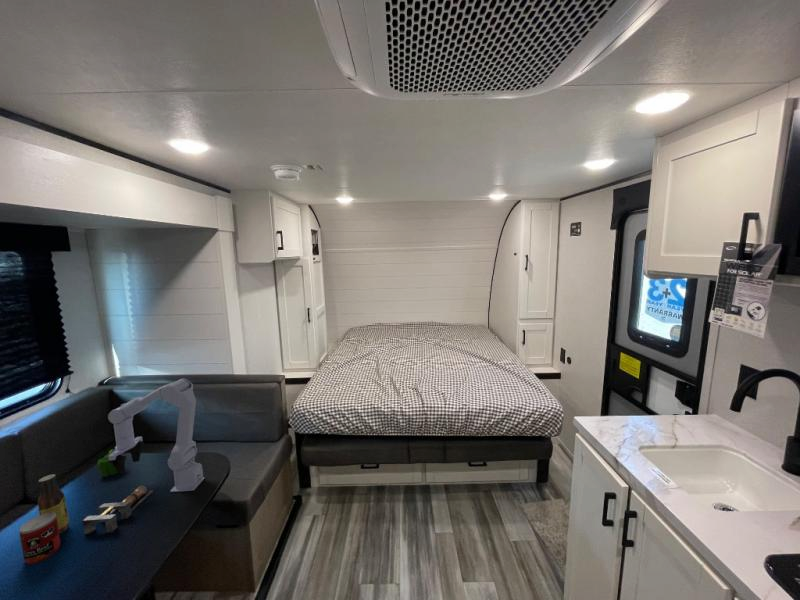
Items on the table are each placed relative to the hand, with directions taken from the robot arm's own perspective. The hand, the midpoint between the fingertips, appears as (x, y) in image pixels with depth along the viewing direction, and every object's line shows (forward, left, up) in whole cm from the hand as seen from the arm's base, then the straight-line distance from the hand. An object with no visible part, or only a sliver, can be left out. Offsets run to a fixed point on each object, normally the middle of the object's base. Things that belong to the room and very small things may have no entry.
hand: (129, 466), depth 131 cm
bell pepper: (+18, -12, -9) cm, 23 cm away
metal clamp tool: (-8, +14, -9) cm, 18 cm away
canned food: (+3, +31, -9) cm, 32 cm away
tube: (-8, +9, -9) cm, 15 cm away
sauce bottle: (+8, +22, -9) cm, 25 cm away
